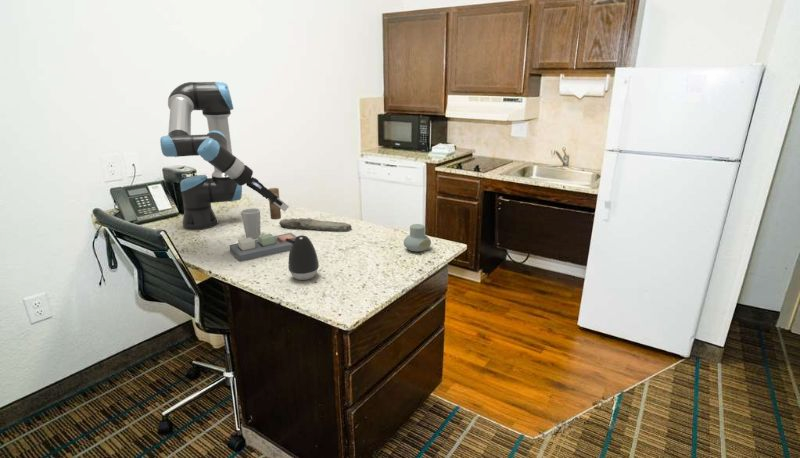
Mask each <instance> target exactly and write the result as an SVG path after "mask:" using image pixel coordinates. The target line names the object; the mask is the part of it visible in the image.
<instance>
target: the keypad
mask: <svg viewBox="0 0 800 458" xmlns="http://www.w3.org/2000/svg"><path fill="white" fill-rule="evenodd" d="M284 235H291V236H292V237H294V239H295V238H296V237H298V236H297V235H295V234H294V233H292V232H287V233H282V234H278V235H273V236H274V237H275V244H272V245H267V246H262V245H261V244H260V243H259V240H258V239H254V241H255V248H253V249H248V250H243V251H242V250H241V249H240V248H239V245H238V242H237V243H232V244H229V245H228V246H229V252H230V253H231V254H232V255H233V256H234V257H235V258H236V259H237V260H238V261H239V262H246V261H250V260H254V259H259V258H263V257H268V256H272V255H276V254H280V253H281V254H282V253H286V252H290V249H291V246H292V244H291V243H289V242H283V243H281V242H280V241H279V240H278V237H279V236H284Z"/></svg>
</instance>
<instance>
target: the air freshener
mask: <svg viewBox="0 0 800 458" xmlns="http://www.w3.org/2000/svg"><path fill="white" fill-rule="evenodd" d="M425 232H426V227H425V225H424V224H421V223H413V224H411V225H410V227H409V235H407V236H406V237H404V240H403V245H404V247H405V249H407V250H409V251H411V252H415V253H416V252H417V253H422V252H424V251H426V250H427V249H429V248H430V247H431V244H432V241H431V239H430V238H429V237H428V236H427V235H426V234H425Z"/></svg>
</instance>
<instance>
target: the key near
mask: <svg viewBox="0 0 800 458" xmlns="http://www.w3.org/2000/svg"><path fill="white" fill-rule="evenodd" d="M254 240H255V239H254ZM254 240H253V239H252V238H251V237H250V238H246V237H245V238H240V239H237V243H238V245H239V248H240V249H241V250H242V251H243V250H248V249H253V248H255V241H254Z"/></svg>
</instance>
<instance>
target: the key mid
mask: <svg viewBox="0 0 800 458" xmlns="http://www.w3.org/2000/svg"><path fill="white" fill-rule="evenodd" d="M274 236H275V235H273V234H271V233H266V234H261V235H260V236H258V240H259V243H260V244H261V245H262V246H267V245H272V244H275V237H274Z"/></svg>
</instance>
